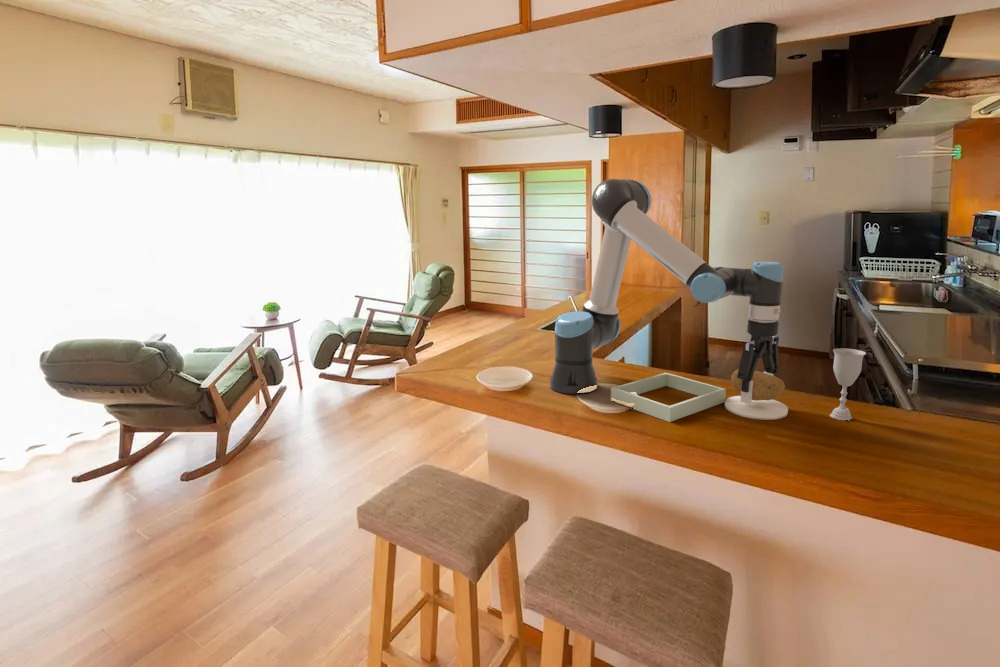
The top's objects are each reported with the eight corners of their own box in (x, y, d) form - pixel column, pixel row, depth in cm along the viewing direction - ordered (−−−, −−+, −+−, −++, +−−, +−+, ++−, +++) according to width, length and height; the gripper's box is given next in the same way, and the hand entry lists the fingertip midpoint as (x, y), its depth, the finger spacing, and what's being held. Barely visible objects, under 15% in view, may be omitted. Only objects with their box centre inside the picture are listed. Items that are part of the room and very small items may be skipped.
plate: (712, 407, 155) (713, 403, 155) (744, 395, 164) (745, 392, 164) (767, 424, 142) (768, 420, 142) (799, 410, 151) (799, 406, 151)
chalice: (853, 413, 148) (861, 349, 144) (860, 423, 142) (869, 355, 138) (822, 411, 151) (830, 347, 147) (828, 420, 144) (836, 353, 140)
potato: (773, 410, 144) (776, 381, 142) (723, 397, 155) (725, 369, 153) (789, 401, 150) (792, 373, 149) (740, 389, 161) (742, 363, 159)
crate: (610, 400, 162) (610, 388, 161) (665, 384, 176) (665, 372, 175) (669, 422, 145) (670, 407, 144) (724, 402, 159) (725, 388, 158)
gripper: (753, 327, 138) (746, 411, 143) (798, 316, 151) (790, 394, 156) (726, 322, 144) (720, 403, 149) (771, 312, 157) (764, 387, 162)
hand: (756, 398), depth 152 cm, fingers closed on potato, 9 cm apart
